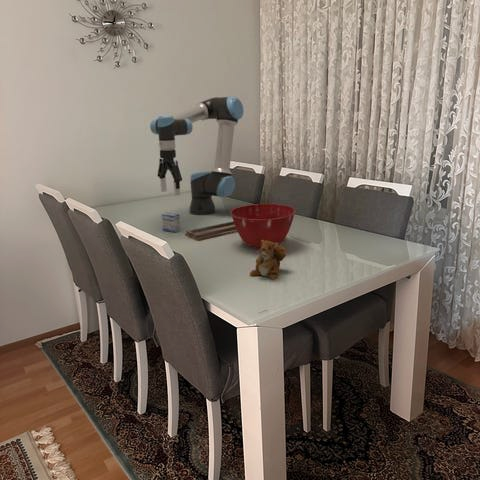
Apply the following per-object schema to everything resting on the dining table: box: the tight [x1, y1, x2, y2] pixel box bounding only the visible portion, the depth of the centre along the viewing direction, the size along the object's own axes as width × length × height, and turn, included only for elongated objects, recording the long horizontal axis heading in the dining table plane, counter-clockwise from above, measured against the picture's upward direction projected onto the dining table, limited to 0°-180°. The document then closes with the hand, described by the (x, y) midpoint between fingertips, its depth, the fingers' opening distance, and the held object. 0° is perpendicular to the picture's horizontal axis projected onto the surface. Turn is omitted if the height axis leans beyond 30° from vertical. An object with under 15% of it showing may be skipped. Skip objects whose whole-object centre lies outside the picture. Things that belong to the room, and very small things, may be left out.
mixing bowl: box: [230, 203, 296, 250], centre depth 201 cm, size 28×28×15 cm
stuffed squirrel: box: [249, 240, 288, 280], centre depth 168 cm, size 10×14×13 cm
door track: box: [184, 220, 238, 242], centre depth 223 cm, size 12×30×2 cm, turn 126°
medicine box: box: [161, 212, 181, 233], centre depth 227 cm, size 8×4×9 cm, turn 62°
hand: (170, 193), depth 222 cm, fingers open, 13 cm apart
